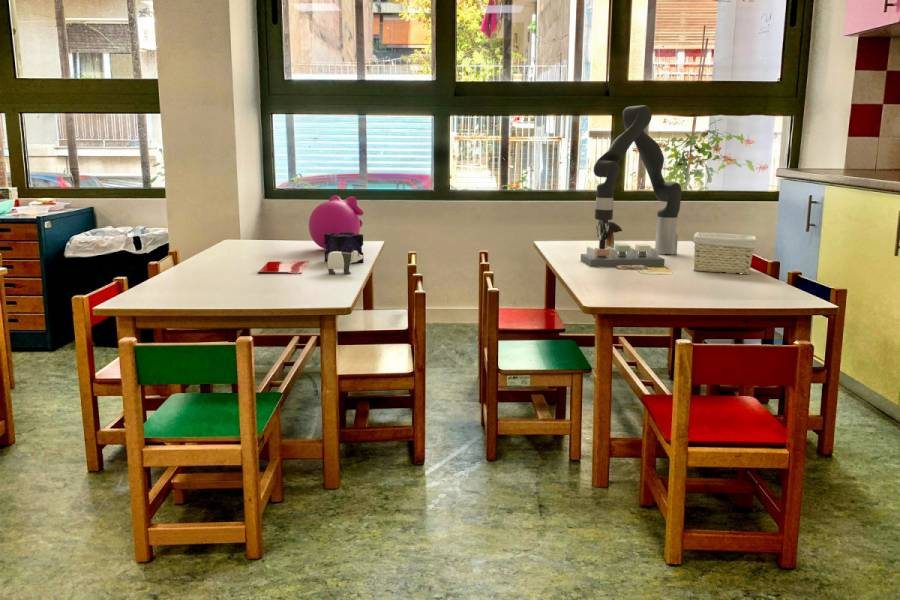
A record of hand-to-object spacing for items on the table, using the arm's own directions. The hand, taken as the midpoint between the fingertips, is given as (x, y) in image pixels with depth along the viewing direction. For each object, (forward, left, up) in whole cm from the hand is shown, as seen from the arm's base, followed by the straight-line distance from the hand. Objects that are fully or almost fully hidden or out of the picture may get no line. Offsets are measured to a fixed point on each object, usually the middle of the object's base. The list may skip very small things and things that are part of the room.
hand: (601, 248), depth 332 cm
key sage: (-9, 0, -3) cm, 10 cm away
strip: (-9, +13, -6) cm, 17 cm away
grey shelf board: (-9, 0, -6) cm, 11 cm away
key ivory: (-18, 0, -3) cm, 18 cm away
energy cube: (+110, -7, -7) cm, 110 cm away
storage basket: (-45, +19, -7) cm, 50 cm away
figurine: (+115, -42, -7) cm, 123 cm away
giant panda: (+109, +21, -7) cm, 111 cm away
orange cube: (0, 0, -5) cm, 5 cm away
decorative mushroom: (-12, -28, -7) cm, 31 cm away
